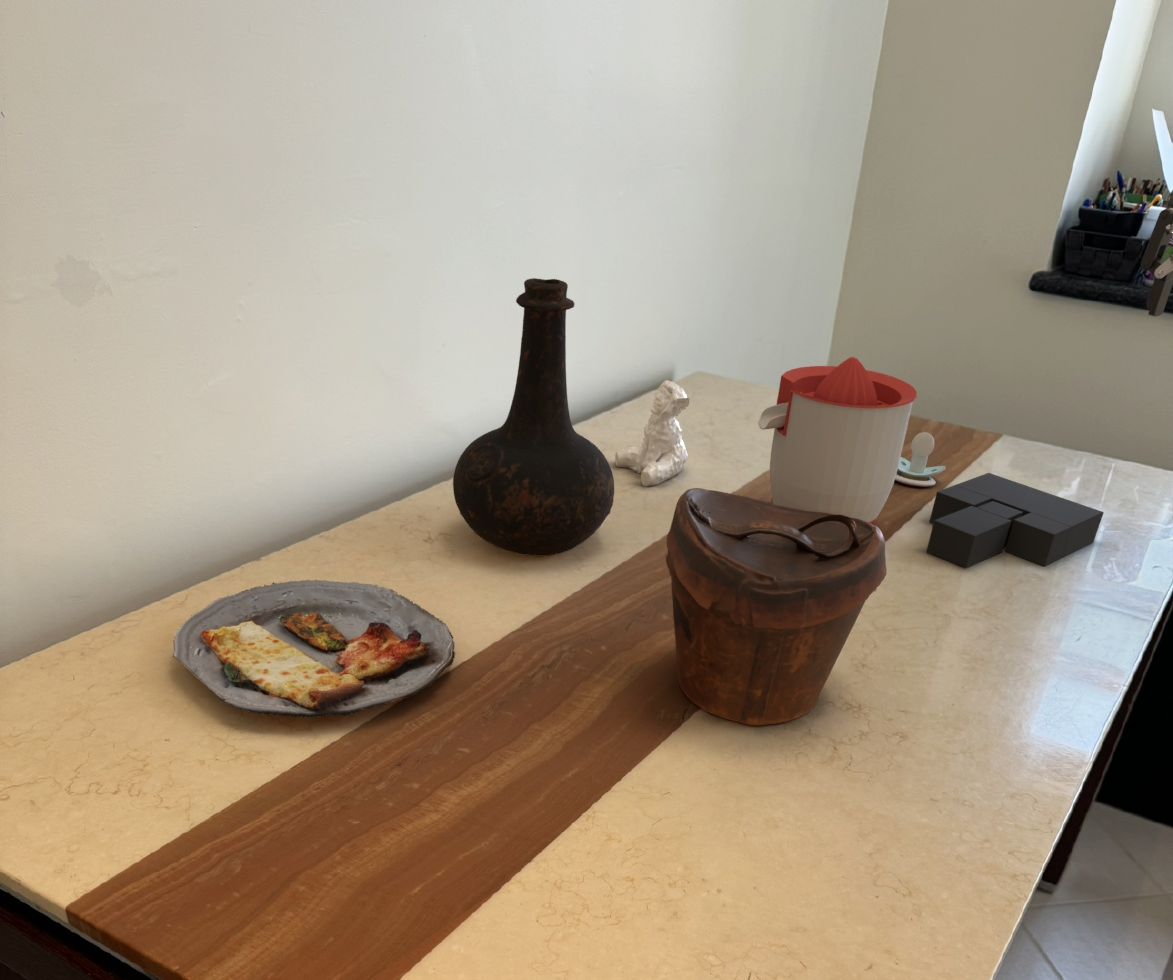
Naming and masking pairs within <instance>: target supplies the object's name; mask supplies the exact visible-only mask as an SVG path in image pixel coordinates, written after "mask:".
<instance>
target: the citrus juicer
mask: <svg viewBox="0 0 1173 980" xmlns="http://www.w3.org/2000/svg"><path fill="white" fill-rule="evenodd" d="M917 398H918V393H917V390H916V388H915V387H914V386H912V385H911V384H910V383H909V382H906V381H904V380H902V379H900V378H898V377H895V376H892V375H890V374H889V375H888V374H885V373H882V372H877V371H875V370H874V371H873V370H869V369H868V370H867V369H866V368H865V367H864V365H863V364H862V362H861V361H860V360H859V359H858V358H857V357H855V356H850V357H848V358H847V359H845V360H844V361H842V362H841V363H840V364H838V365H837V366H836V365H812V366H811V365H809V366H801V367H797V368H791V369H790V370H787V371H785V372H784V373H783V374H781V375H780V381H779V388H778V394H777V398H776V404H775V405H772V406H769V407H767V408H765V409H764V410H763V411H762V412H761V415H760V418H759V420H758V427H759V429H761V430H772V429H774V430H773V436H772V443H771V449H770V450H771V451H770V457H769V458H770V460H769V486H770V493H771V498H770V501H771V504H774V505H778V506H785V507H790V508H795V509H800V510H805V511H814V512H824V513H830V514H836V515H837V514H839V515H844V516H848V517H851V518H857V519H860V520H863V521H866V522H868V523H870V524H872V525H875V522H876V521H877V520H878V519H879V517H880V514H881V512H882V510H883V508H884V506H885V504H886V502H887V501H888V498H889V496H890V493H891V492H892V489H893V486H894V484H895V481H896V480H895V477H896V473H897V470H898V466H899V462H900V457H902V452H903V448H904V444H905V441H906V440H905V439H906V436H907V435H906V434H907V432H908V431H907V430H908V427H909V422H910V416H911V413H912V408H913V403H914V401H915V400H916V399H917Z"/></svg>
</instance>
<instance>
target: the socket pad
mask: <svg viewBox="0 0 1173 980" xmlns="http://www.w3.org/2000/svg"><path fill="white" fill-rule="evenodd" d="M992 501H994V502H997V503H1000V504H1003V505H1005V506H1008V507H1011V508H1014V509H1016V510H1019V511H1022V512H1023V515H1022V517H1019V518H1017V519H1015V520H1014V521H1013V525H1012V528H1011V531H1010V535H1009V538H1008V541H1007V545H1006V546H1005V547H1004V552H1006V553H1009V554H1011V555H1013V556H1016V557H1018V558H1021V559H1024V560H1027V561H1029V562H1032V563H1035V564H1037V565H1040V566H1041V567H1046V566H1048V565H1051V564H1053V563H1054V562H1056V561H1057V562H1058V560H1061V559H1062V558H1064V557H1066V556H1069V555H1071V554H1072V553H1075V552H1077V551H1079V550H1081V549H1084V548H1086V547H1087V546H1089V545H1091V544H1093V543H1094V542H1095V540H1096V537H1097V533H1098V530H1099V527H1100V525H1101V522H1102V519H1103V516H1104V511H1102V510H1099V509H1096V508H1092V507H1090V506H1087V505H1084V504H1081V503H1079V502H1076V501H1072V500H1069V499H1066V498H1064V497H1061V496H1058V495H1055V494H1052V493H1049V492H1046V491H1044V490H1040V489H1038V488H1035V487H1031V486H1029V485H1026V484H1023V483H1019V482H1018V481H1014V480H1012V479H1008V478H1005V477H1003V476H1000V475H997V474H993V473H991V472H987V473H984V474H981V475H978V476H976V477H973V478H970V479H968V480H965V481H962V482H959V483H957V484H953V485H951V486H949V487H945V488H943V489H940V490H937V491H936V494H935V497H934V501H933V505H932V509H931V514H930V518H929V523H931V524H934V520H937V519H939V518H942V517H944V516H947V515H950V514H952V513H955V512H957V511H960V510H962V509H965V508H967V507H970V506H973V507H976V508H977V507H979V506H982V505H984V504H987V503H989V502H992Z"/></svg>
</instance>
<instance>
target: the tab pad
mask: <svg viewBox="0 0 1173 980" xmlns="http://www.w3.org/2000/svg"><path fill="white" fill-rule="evenodd" d="M1022 515H1023V512H1022V511H1019V510H1016V509H1014V508H1011V507H1008V506H1005V505H1003V504H1000V503H997V502H994V501H992V502H989V503H987V504H984V505H982V506H979V507H977V508H976V507H973V506H970V507H967V508H965V509H962V510H960V511H957V512H955V513H952V514H950V515H947V516H944V517H942V518H939V519H937V520H934V523H932V528H931V532H930V535H929V539H928V543H927V547H926V551H925V553H928V554H930V555H933V556H935V557H937V558H940V559H943V560H944V561H947V562H950V563H952V564H954V565H957V566H960V567H962V568H964V569H968V568H970V567H972V566H974V565H977V564H978V563H980V562H984V561H985V560H987V559H990V558H992V557H994V556H996V555H997V556H998V554H1001V553H1003V551H1004V549H1005V548H1006V545H1007V541H1008V538H1009V535H1010V531H1011V528H1012V525H1013V521H1014V520H1015V519H1017V518H1019V517H1022Z"/></svg>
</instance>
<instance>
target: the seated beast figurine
mask: <svg viewBox="0 0 1173 980" xmlns="http://www.w3.org/2000/svg"><path fill="white" fill-rule="evenodd" d="M687 396H688V394H687V393H685V390H684V387H682V386H679V385H678V384H676V383H675V382H674V381H670V380H668V379H666V380H663V382H662V383H661V384H660V385H659V387H658V388H657V392H656V393H654V398H653V402H652V407H651V408H650V413H651V414H650V416H649V418H648V419H647V420H648V422H647V423H646V424H645V425H644V427H643V436H644V437H643V439H642V440H643V442H642V444H641V446H636V447H634V446H629V447H624V448H623V449H619V450H617V451H615V453H614V463H615V466H616V467H619V468H629V469H630V470H633V471H635V473H636V472H637V474H640V482H641V484H642V486H645V487H652V486H659V484H661V483H663V482H665V481H667V480H669V479H671V478H672V477H674V476H676V475H677V476H678V474H679V473H681V471H682V470H684V466H685V464H686V463H687V462H688V458H689V454H688V452H687V447H686V445H685V442H684V440H683V436H682V428H681V425H680V422H679V420H678V419H676V417H678V416H679V415H680V414H681V413H682V411H684V410H686V409H687V407H689V406H690V398H689V397H687Z"/></svg>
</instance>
